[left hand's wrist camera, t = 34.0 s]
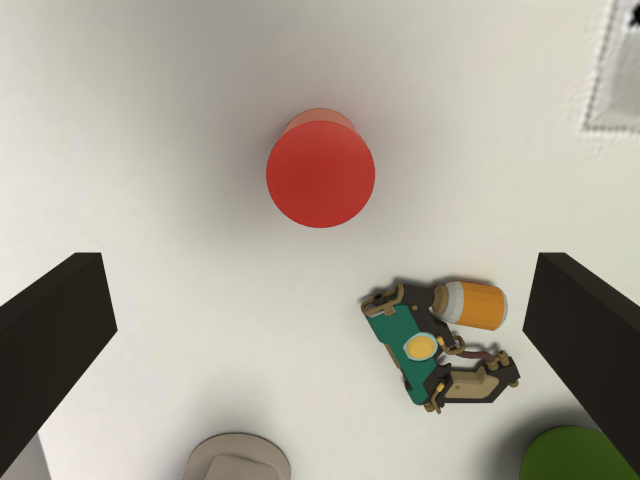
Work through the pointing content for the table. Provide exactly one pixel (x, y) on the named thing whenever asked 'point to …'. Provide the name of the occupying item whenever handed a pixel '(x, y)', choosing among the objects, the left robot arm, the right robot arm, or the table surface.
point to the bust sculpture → (237, 460)
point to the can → (320, 170)
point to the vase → (574, 457)
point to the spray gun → (442, 341)
